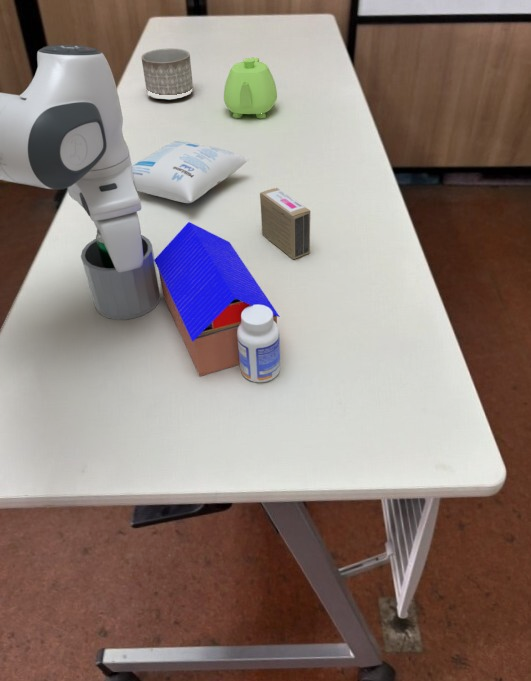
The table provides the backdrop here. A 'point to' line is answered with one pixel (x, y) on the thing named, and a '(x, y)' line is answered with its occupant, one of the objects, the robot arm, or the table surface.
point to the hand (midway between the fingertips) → (119, 263)
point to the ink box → (285, 222)
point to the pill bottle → (258, 344)
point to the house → (207, 295)
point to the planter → (167, 71)
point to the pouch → (184, 170)
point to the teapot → (250, 89)
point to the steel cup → (122, 284)
